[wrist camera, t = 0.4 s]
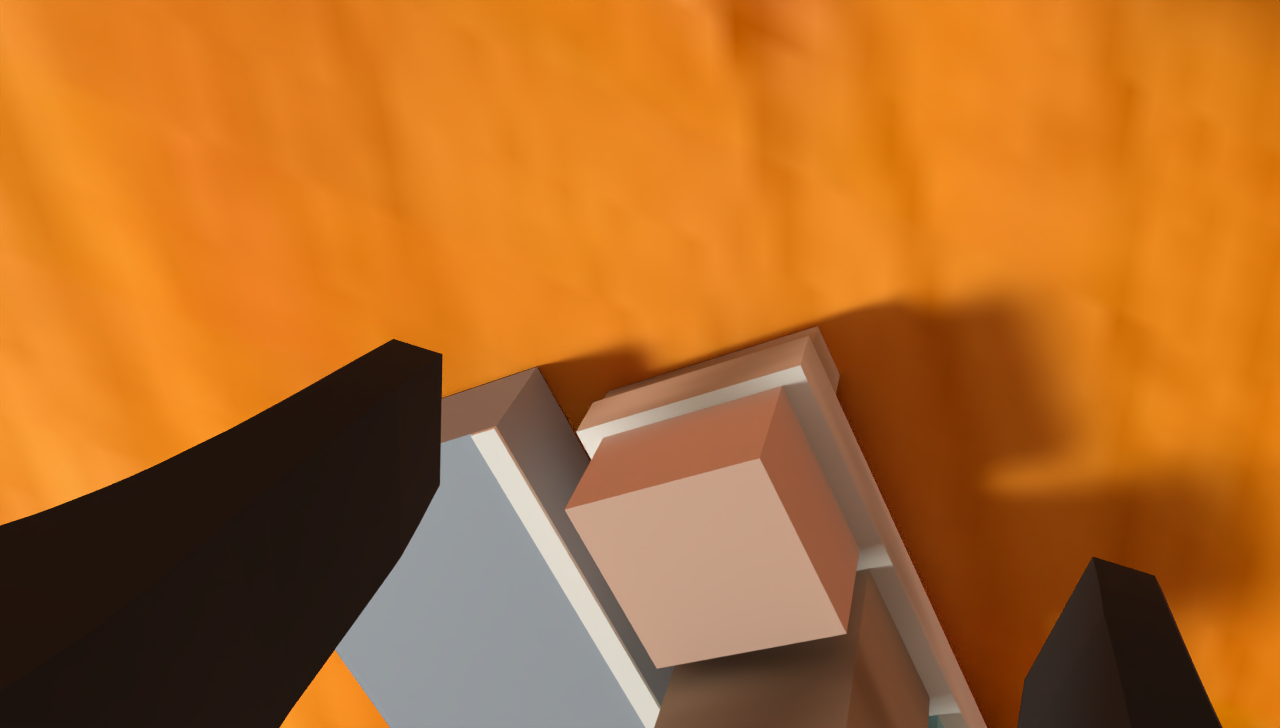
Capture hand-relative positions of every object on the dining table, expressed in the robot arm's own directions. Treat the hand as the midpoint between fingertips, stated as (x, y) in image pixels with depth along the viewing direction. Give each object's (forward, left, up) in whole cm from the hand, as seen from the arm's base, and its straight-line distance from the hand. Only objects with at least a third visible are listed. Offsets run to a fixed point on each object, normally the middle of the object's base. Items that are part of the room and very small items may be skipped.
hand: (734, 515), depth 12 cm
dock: (-12, -9, -11) cm, 18 cm away
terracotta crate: (-4, -5, -9) cm, 11 cm away
